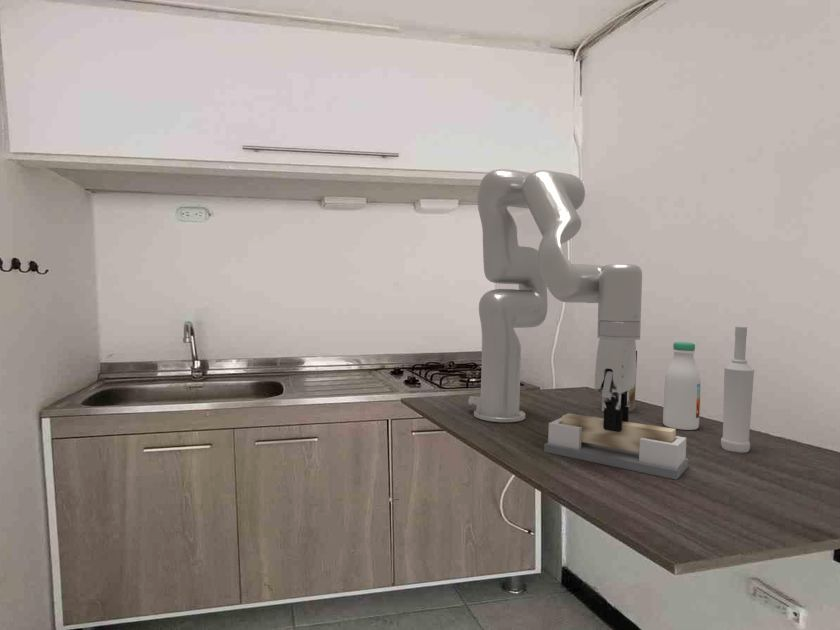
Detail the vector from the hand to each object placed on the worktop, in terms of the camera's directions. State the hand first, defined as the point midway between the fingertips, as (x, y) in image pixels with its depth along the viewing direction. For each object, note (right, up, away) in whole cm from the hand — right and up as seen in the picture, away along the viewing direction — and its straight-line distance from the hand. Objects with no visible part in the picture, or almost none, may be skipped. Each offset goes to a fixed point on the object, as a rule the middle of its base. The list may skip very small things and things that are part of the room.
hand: (615, 427), depth 102 cm
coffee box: (+16, -5, +44) cm, 47 cm away
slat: (0, -3, 0) cm, 3 cm away
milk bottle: (+25, -6, +27) cm, 37 cm away
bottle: (+28, -6, +9) cm, 30 cm away
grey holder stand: (0, -6, 0) cm, 6 cm away
